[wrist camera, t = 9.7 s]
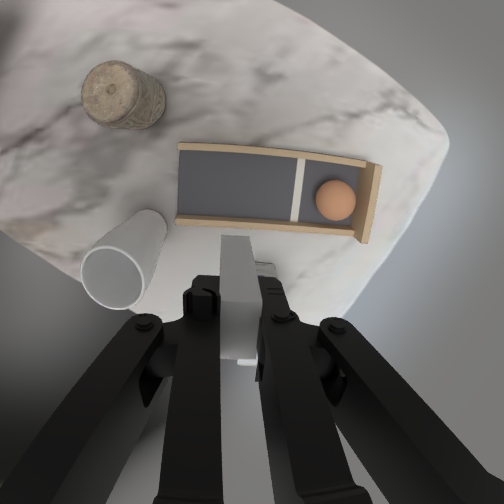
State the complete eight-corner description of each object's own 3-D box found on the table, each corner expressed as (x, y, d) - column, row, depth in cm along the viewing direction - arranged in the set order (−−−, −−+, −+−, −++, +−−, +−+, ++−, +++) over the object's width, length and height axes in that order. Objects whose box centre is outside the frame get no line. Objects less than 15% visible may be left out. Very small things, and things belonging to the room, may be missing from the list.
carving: (147, 64, 31) (113, 41, 20) (179, 108, 34) (157, 99, 23) (108, 96, 32) (63, 88, 21) (139, 139, 35) (103, 145, 24)
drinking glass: (148, 192, 38) (105, 229, 24) (183, 229, 40) (161, 284, 26) (116, 225, 39) (66, 275, 25) (149, 260, 41) (117, 323, 27)
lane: (178, 219, 39) (171, 231, 35) (181, 142, 35) (173, 144, 31) (353, 231, 42) (367, 244, 37) (365, 160, 38) (382, 165, 33)
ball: (320, 212, 41) (308, 220, 36) (324, 175, 39) (312, 179, 35) (356, 219, 38) (348, 228, 34) (361, 181, 36) (353, 186, 32)
